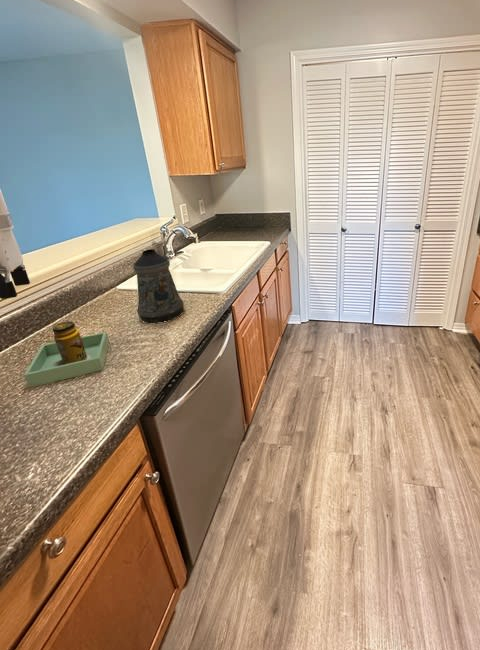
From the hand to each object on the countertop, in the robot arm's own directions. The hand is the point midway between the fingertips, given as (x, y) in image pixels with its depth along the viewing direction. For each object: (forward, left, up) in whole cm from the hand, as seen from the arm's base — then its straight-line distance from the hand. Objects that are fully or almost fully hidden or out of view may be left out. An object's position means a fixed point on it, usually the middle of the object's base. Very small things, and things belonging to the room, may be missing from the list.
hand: (16, 290), depth 82 cm
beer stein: (+30, +28, -26) cm, 48 cm away
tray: (+5, +4, -26) cm, 27 cm away
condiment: (+5, +3, -25) cm, 26 cm away
